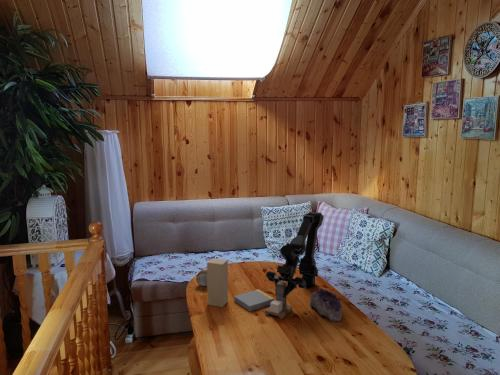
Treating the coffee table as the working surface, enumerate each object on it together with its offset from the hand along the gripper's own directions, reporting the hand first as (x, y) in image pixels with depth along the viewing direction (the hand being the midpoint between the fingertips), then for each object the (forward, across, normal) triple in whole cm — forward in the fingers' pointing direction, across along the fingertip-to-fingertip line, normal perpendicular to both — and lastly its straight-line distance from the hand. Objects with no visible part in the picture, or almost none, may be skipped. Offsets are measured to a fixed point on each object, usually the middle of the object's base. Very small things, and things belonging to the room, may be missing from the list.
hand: (279, 296), depth 184 cm
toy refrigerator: (+10, -29, 0) cm, 31 cm away
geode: (-2, +19, +13) cm, 23 cm away
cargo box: (+6, 0, +1) cm, 6 cm away
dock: (+4, -15, +7) cm, 17 cm away
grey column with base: (+6, 0, +4) cm, 7 cm away
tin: (0, -44, +10) cm, 45 cm away
